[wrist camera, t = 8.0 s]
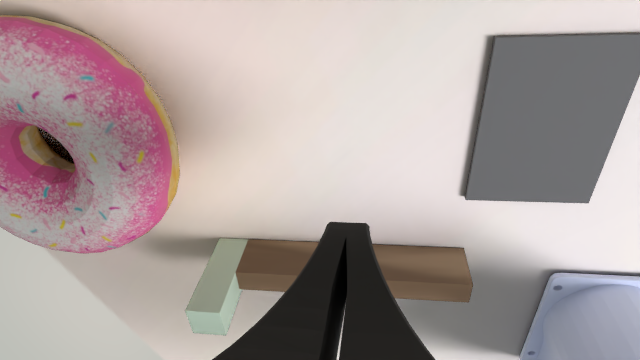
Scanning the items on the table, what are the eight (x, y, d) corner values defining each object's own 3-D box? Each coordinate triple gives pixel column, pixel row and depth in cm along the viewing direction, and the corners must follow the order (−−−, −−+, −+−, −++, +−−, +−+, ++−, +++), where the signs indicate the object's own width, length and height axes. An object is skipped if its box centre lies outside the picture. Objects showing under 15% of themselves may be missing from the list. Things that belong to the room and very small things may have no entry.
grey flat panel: (586, 199, 22) (588, 203, 22) (464, 196, 23) (465, 199, 23) (651, 32, 17) (655, 34, 17) (494, 35, 18) (495, 37, 18)
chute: (459, 270, 26) (478, 353, 21) (225, 259, 28) (193, 333, 24) (539, -133, 15) (620, -153, 10) (133, -104, 17) (31, -108, 12)
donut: (95, -43, 18) (15, -29, 14) (237, 184, 25) (209, 239, 21) (-82, 62, 23) (-184, 96, 19) (78, 233, 29) (29, 287, 25)
